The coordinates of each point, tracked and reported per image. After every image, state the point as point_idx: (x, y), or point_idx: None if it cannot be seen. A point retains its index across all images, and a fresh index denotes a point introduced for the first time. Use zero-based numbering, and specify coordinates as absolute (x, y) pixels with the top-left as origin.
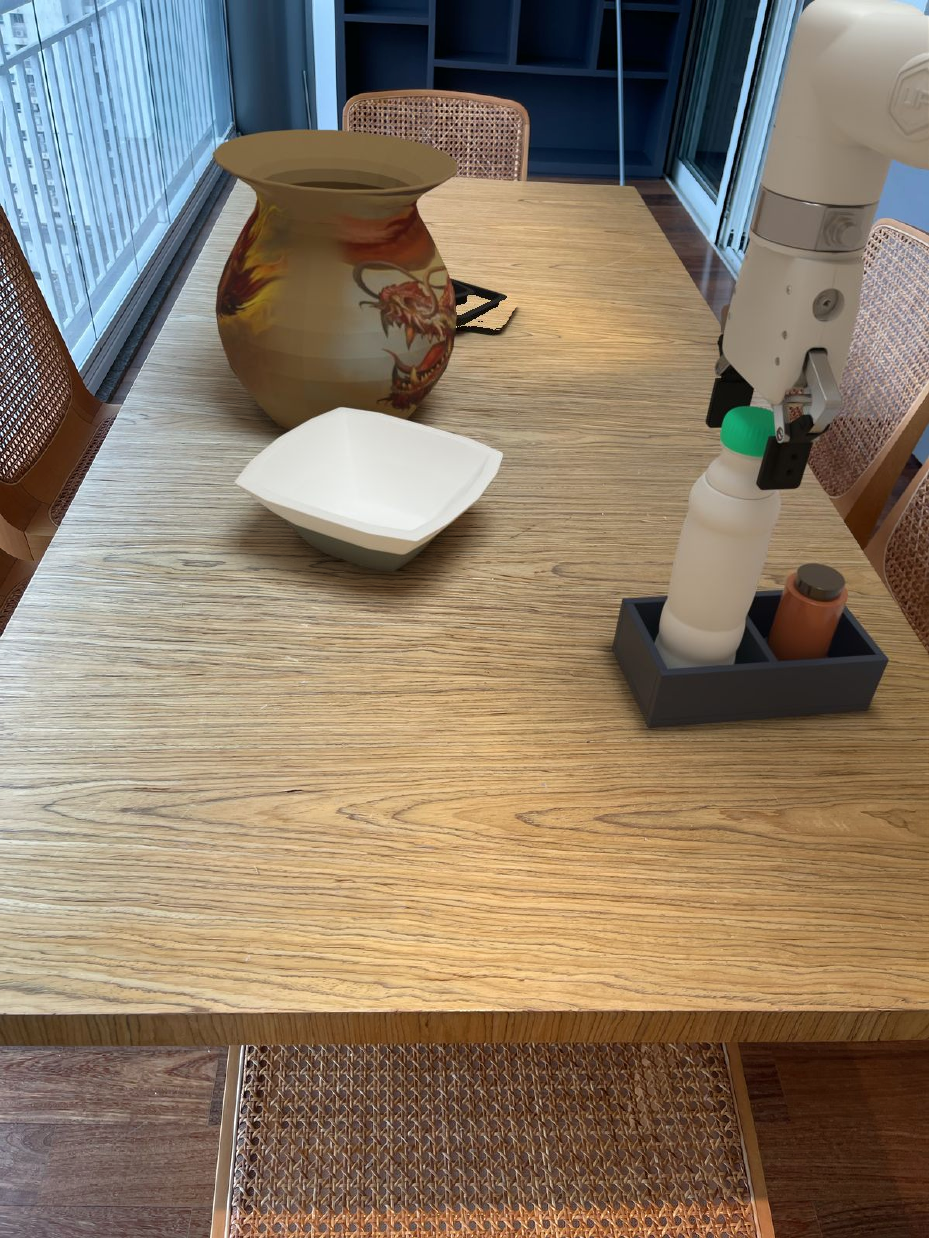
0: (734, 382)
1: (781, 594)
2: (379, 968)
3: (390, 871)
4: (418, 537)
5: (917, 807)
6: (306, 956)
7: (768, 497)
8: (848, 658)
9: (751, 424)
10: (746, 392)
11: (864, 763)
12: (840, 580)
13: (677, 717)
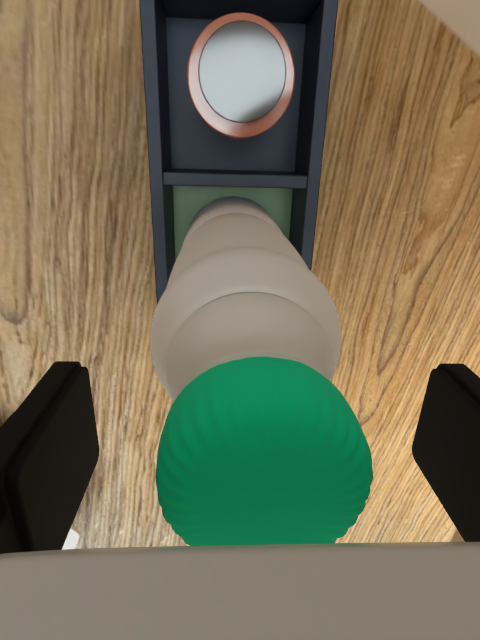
0: (28, 547)
1: (157, 87)
2: (444, 509)
3: (381, 499)
4: (73, 534)
5: (468, 49)
6: (422, 537)
7: (326, 334)
8: (323, 57)
9: (321, 539)
10: (42, 467)
11: (392, 78)
12: (260, 37)
13: None
